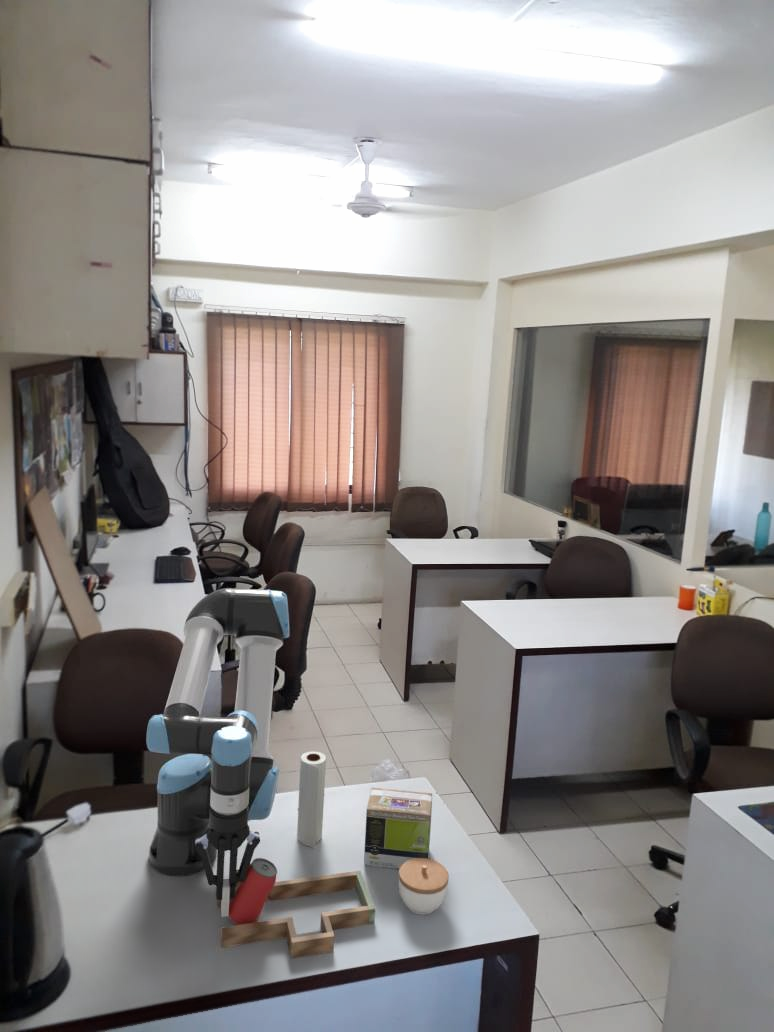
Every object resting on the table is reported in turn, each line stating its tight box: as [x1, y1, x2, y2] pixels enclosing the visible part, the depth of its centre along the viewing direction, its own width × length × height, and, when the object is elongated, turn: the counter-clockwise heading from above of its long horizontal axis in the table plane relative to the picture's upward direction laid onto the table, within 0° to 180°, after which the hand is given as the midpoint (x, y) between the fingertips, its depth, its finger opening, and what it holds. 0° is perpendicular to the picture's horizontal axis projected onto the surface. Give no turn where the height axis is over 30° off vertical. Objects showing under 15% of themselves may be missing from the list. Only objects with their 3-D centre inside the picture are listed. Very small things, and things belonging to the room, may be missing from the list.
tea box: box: [363, 787, 433, 869], centre depth 180 cm, size 15×10×15 cm, turn 84°
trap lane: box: [216, 869, 376, 959], centre depth 160 cm, size 31×24×4 cm
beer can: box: [228, 857, 278, 925], centre depth 156 cm, size 7×7×12 cm
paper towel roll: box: [296, 750, 327, 850], centre depth 184 cm, size 7×6×21 cm
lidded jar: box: [398, 858, 450, 916], centre depth 165 cm, size 11×11×9 cm
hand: (224, 911), depth 155 cm, fingers closed
